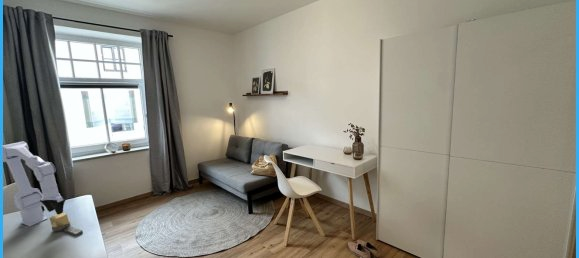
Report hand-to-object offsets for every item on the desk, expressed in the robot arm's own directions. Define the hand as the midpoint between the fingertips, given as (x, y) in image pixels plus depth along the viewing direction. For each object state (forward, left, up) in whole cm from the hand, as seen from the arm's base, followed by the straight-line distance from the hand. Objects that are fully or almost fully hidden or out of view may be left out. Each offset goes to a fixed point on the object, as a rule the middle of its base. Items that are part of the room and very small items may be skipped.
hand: (55, 212), depth 130 cm
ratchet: (+7, 0, -9) cm, 12 cm away
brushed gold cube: (+1, 0, -7) cm, 7 cm away
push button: (-34, +5, -10) cm, 36 cm away
